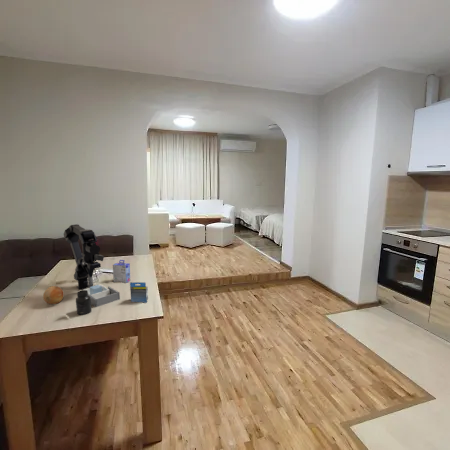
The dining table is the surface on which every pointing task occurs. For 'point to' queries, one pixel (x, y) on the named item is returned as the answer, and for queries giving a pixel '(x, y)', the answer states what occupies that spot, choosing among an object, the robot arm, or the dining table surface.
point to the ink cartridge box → (121, 272)
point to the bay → (105, 298)
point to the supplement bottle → (83, 303)
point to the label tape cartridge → (139, 292)
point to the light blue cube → (95, 289)
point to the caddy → (101, 294)
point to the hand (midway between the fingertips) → (90, 276)
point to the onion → (53, 295)
